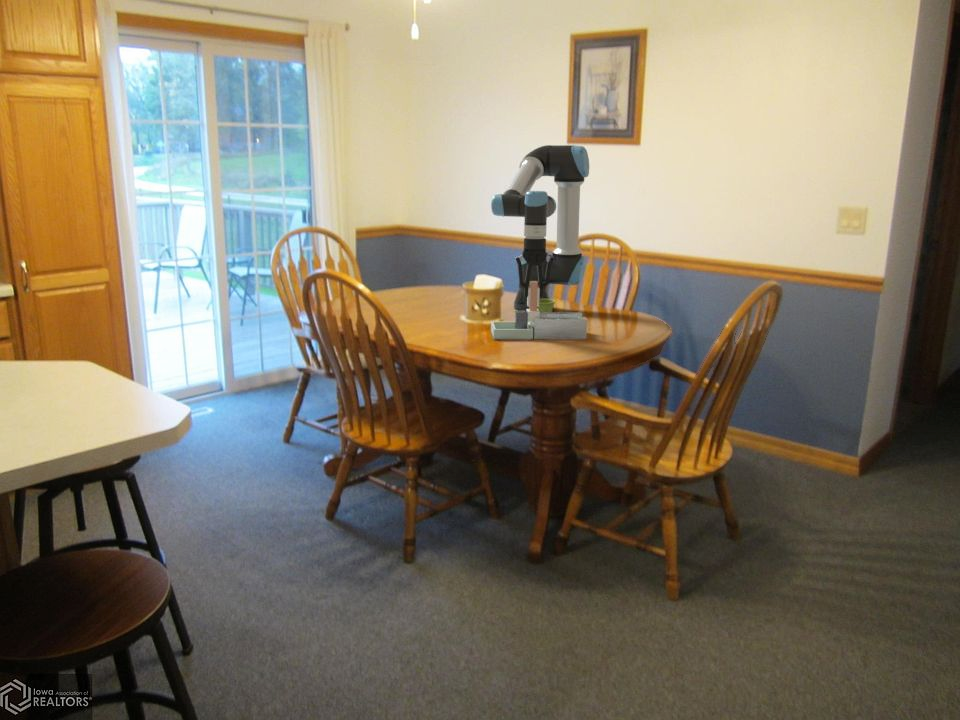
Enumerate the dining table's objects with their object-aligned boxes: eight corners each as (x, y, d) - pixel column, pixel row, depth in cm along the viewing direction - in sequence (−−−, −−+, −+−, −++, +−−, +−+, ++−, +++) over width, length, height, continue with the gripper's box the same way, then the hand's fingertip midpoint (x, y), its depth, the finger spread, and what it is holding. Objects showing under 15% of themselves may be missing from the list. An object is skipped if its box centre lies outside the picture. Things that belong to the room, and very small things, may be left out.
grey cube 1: (515, 322, 280) (514, 310, 279) (526, 321, 280) (526, 310, 279) (516, 324, 276) (515, 313, 275) (527, 323, 276) (527, 312, 275)
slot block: (530, 331, 286) (530, 312, 284) (580, 331, 287) (581, 312, 285) (534, 339, 274) (534, 319, 272) (586, 339, 275) (587, 319, 273)
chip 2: (526, 332, 281) (514, 333, 281) (526, 321, 280) (514, 322, 280) (527, 335, 277) (516, 335, 277) (527, 323, 276) (515, 324, 276)
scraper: (526, 318, 281) (527, 280, 277) (537, 318, 281) (538, 280, 278) (527, 321, 276) (528, 282, 272) (539, 321, 276) (540, 282, 273)
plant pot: (537, 320, 306) (538, 297, 304) (558, 323, 301) (559, 300, 298) (524, 323, 298) (525, 301, 296) (546, 327, 293) (546, 303, 291)
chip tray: (490, 331, 285) (491, 321, 284) (528, 331, 286) (528, 321, 285) (493, 339, 273) (493, 329, 272) (532, 339, 273) (533, 329, 273)
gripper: (513, 238, 267) (511, 307, 273) (559, 238, 268) (556, 307, 274) (511, 236, 274) (509, 303, 280) (556, 236, 275) (553, 303, 281)
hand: (533, 305), depth 277 cm, fingers closed on scraper, 2 cm apart
